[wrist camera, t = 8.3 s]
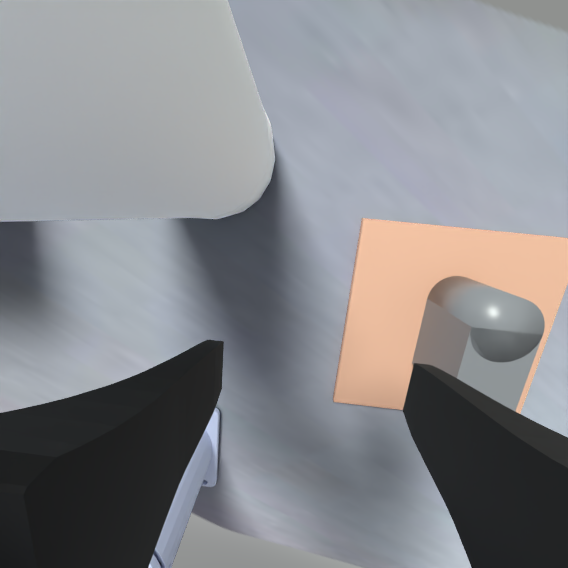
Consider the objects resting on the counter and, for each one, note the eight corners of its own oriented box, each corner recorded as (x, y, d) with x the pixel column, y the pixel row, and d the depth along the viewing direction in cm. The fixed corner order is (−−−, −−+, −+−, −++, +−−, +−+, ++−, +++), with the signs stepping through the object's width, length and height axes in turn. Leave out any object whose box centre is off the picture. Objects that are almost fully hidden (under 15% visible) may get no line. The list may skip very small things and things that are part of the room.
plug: (406, 386, 21) (439, 439, 16) (433, 273, 18) (480, 293, 14) (454, 392, 20) (502, 446, 16) (487, 278, 18) (554, 301, 13)
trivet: (333, 397, 22) (333, 401, 21) (362, 218, 18) (363, 218, 18) (511, 418, 21) (516, 423, 21) (575, 239, 18) (583, 239, 17)
